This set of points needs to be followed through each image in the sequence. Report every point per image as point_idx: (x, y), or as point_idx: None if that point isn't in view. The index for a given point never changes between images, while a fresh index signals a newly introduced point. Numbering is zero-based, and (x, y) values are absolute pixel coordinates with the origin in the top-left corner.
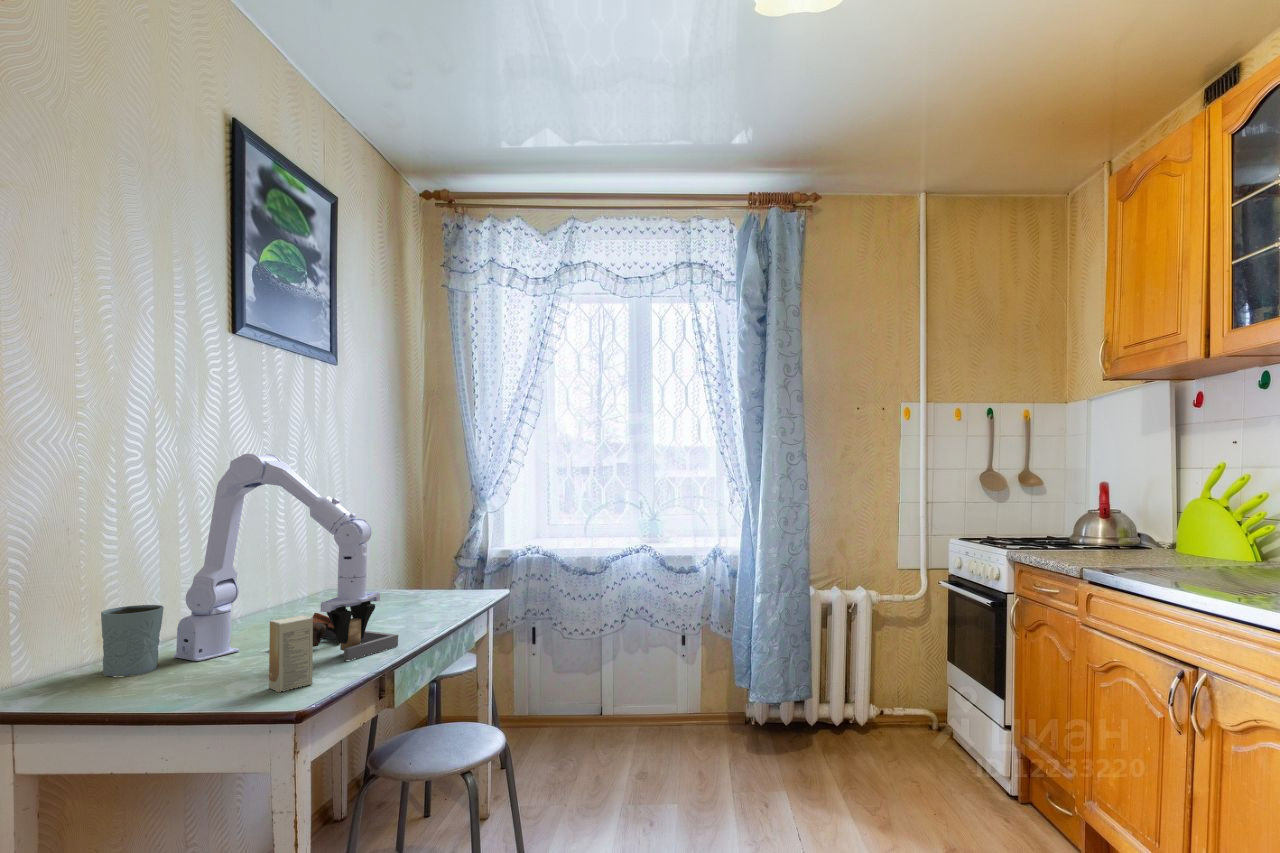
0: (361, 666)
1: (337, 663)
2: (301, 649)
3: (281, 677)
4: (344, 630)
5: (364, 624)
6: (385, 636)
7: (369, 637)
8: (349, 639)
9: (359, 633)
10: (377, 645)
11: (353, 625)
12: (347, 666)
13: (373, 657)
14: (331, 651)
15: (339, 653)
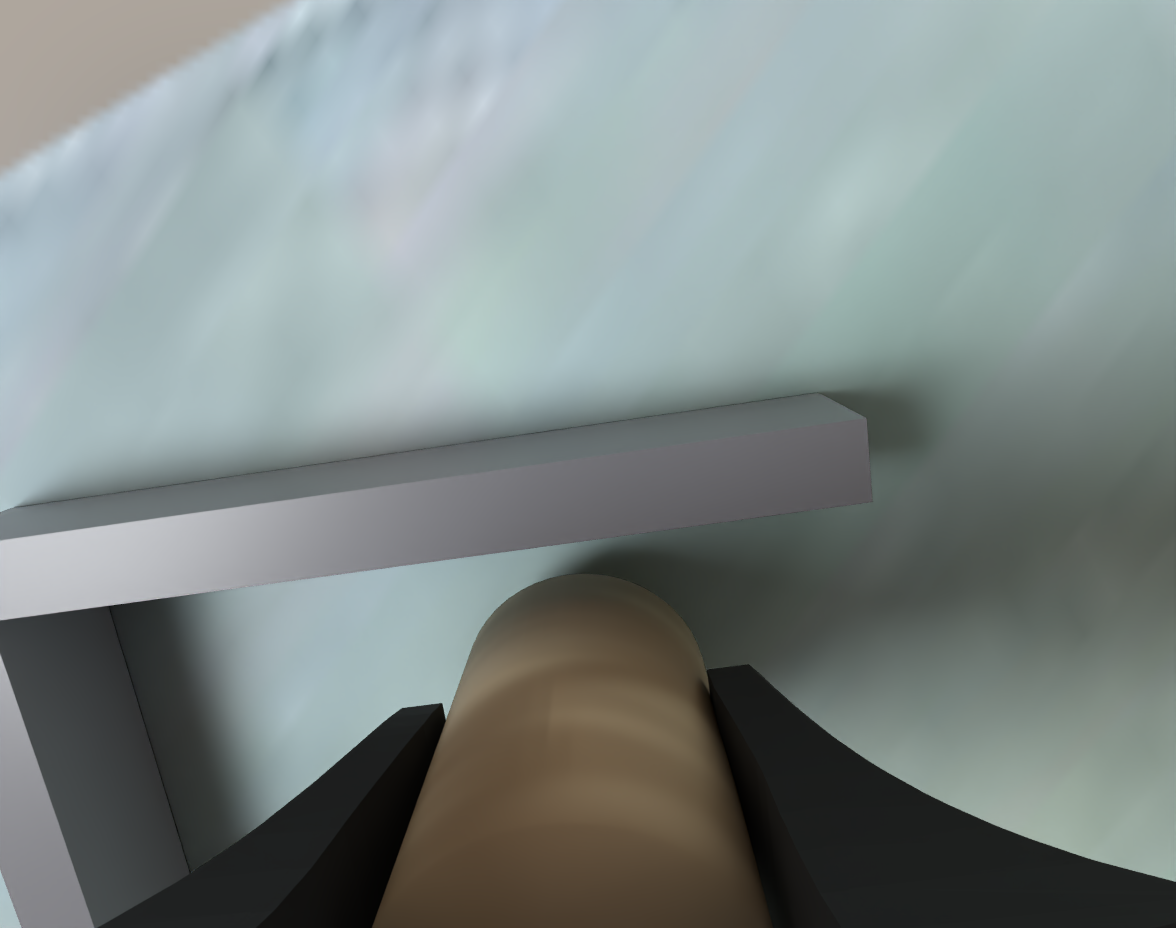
0: (881, 47)
1: (929, 432)
2: None
3: None
4: (846, 747)
5: (342, 809)
6: (34, 692)
7: None
8: (682, 674)
9: (512, 684)
10: (319, 482)
11: (648, 782)
12: (967, 206)
13: (514, 306)
14: None
15: None
